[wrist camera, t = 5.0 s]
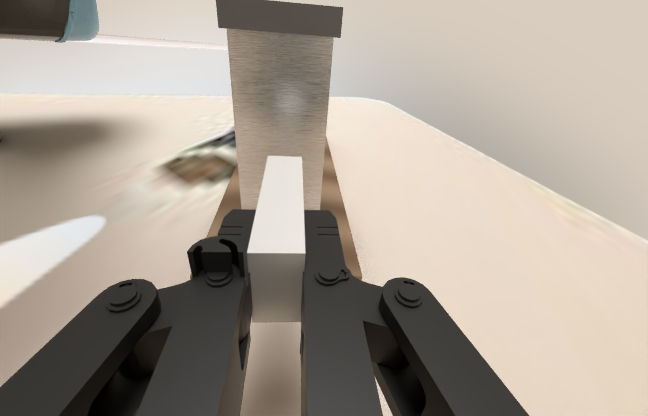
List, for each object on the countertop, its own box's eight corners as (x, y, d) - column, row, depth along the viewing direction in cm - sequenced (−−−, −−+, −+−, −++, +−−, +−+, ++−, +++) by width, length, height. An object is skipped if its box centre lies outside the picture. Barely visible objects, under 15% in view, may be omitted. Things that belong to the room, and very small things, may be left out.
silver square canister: (322, 239, 20) (342, 7, 14) (238, 238, 20) (215, -5, 13) (317, 198, 25) (331, 11, 18) (249, 196, 25) (237, 2, 18)
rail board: (358, 293, 19) (362, 274, 18) (194, 294, 18) (189, 275, 17) (324, 142, 43) (325, 131, 42) (252, 138, 42) (251, 127, 41)
